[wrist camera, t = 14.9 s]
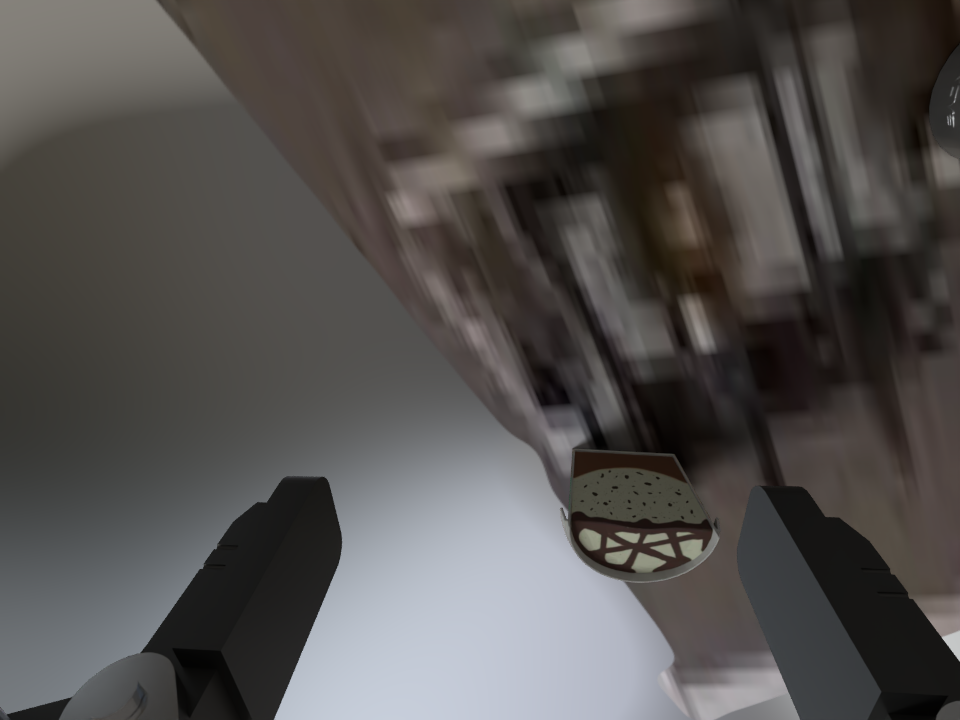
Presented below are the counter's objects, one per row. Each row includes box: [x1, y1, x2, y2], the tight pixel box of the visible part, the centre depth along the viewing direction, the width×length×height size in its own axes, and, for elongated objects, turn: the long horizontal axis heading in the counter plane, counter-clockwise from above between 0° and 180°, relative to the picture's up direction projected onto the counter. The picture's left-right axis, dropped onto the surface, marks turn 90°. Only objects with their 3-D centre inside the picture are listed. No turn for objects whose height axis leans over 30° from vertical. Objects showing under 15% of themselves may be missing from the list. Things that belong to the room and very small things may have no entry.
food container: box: [560, 449, 720, 583], centre depth 45 cm, size 12×6×10 cm, turn 90°
